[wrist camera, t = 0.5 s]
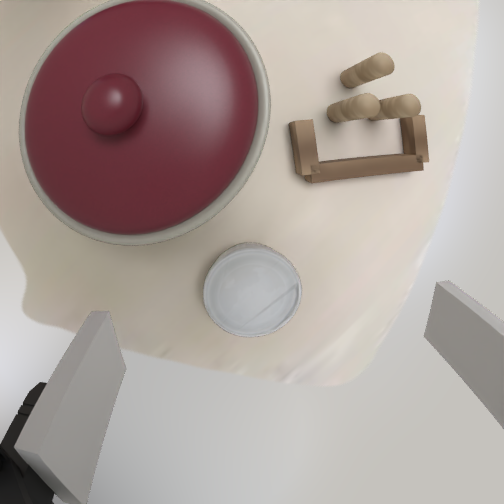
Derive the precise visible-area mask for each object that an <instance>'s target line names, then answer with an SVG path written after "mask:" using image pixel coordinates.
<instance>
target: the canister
mask: <svg viewBox="0 0 504 504" xmlns="http://www.w3.org/2000/svg"><path fill="white" fill-rule="evenodd" d="M270 109H271V99H270V88H269V82H268V77H267V73H266V69H265V66H264V64H263V61H262V58H261V56H260V54H259V52H258V50H257V48H256V46H255V45H254V43H253V41H252V40H251V38H250V37H249V36H248V34H247V33H246V32H245V31H244V29H243V28H242V27H241V26H240V25H239V24H238V23H237V22H236V21H235V20H234V19H232V18H231V17H230V16H229V15H228V14H226V13H225V12H223V11H222V10H220V9H219V8H217V7H215V6H214V5H212V4H210V3H208V2H206V1H203V0H110V1H107V2H105V3H103V4H101V5H99V6H97V7H95V8H93V9H91V10H89V11H88V12H86V13H84V14H83V15H81V16H80V17H79V18H77V19H76V20H75V21H73V22H72V23H71V24H70V25H68V26H67V27H66V28H65V29H64V30H63V31H62V32H61V33H60V34H59V35H58V36H57V37H56V38H55V39H54V40H53V42H52V43H51V44H50V45H49V46H48V48H47V49H46V50H45V52H44V53H43V55H42V56H41V58H40V59H39V61H38V63H37V65H36V66H35V68H34V70H33V72H32V74H31V77H30V79H29V81H28V84H27V87H26V90H25V93H24V97H23V101H22V105H21V111H20V119H19V142H20V150H21V156H22V160H23V164H24V167H25V170H26V173H27V176H28V178H29V180H30V183H31V185H32V187H33V188H34V190H35V192H36V194H37V195H38V197H39V198H40V200H41V201H42V202H43V204H44V205H45V206H46V207H47V208H48V210H49V211H50V212H51V213H52V214H53V215H54V216H55V217H57V218H58V219H59V220H60V221H61V222H63V223H64V224H65V225H67V226H68V227H70V228H71V229H73V230H74V231H76V232H78V233H80V234H82V235H84V236H86V237H89V238H91V239H94V240H97V241H101V242H105V243H109V244H116V245H128V246H135V245H148V244H154V243H159V242H163V241H167V240H170V239H173V238H176V237H179V236H181V235H183V234H186V233H188V232H190V231H192V230H194V229H195V228H197V227H199V226H201V225H202V224H204V223H205V222H207V221H208V220H210V219H211V218H212V217H214V216H215V215H216V214H217V213H219V212H220V211H221V210H222V209H223V208H224V207H225V206H226V205H227V204H228V203H229V202H230V201H231V200H232V199H233V198H234V197H235V196H236V195H237V193H238V192H239V191H240V190H241V188H242V187H243V186H244V184H245V183H246V181H247V180H248V178H249V177H250V175H251V173H252V172H253V170H254V168H255V166H256V164H257V162H258V160H259V157H260V155H261V152H262V150H263V147H264V144H265V140H266V137H267V133H268V128H269V121H270Z"/></svg>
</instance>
